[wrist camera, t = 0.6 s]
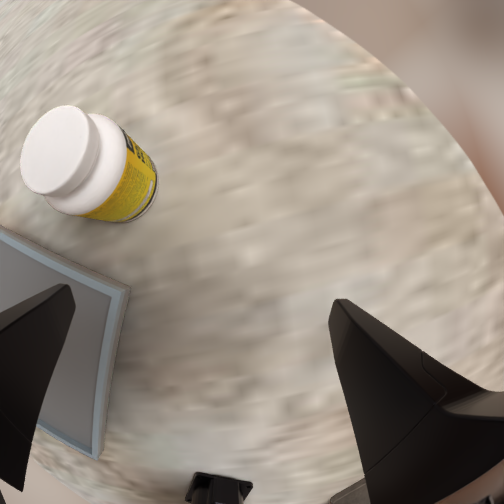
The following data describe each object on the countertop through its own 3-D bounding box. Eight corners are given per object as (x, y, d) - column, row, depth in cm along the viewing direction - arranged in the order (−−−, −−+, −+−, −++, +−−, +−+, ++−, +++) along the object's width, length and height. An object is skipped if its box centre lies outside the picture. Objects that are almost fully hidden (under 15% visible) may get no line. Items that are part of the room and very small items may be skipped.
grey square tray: (111, 436, 22) (97, 460, 17) (2, 370, 20) (-18, 383, 16) (141, 282, 21) (121, 291, 17) (13, 224, 20) (-15, 223, 16)
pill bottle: (174, 168, 21) (128, 109, 10) (137, 236, 21) (62, 233, 10) (117, 140, 21) (50, 81, 10) (83, 203, 21) (-4, 182, 10)
